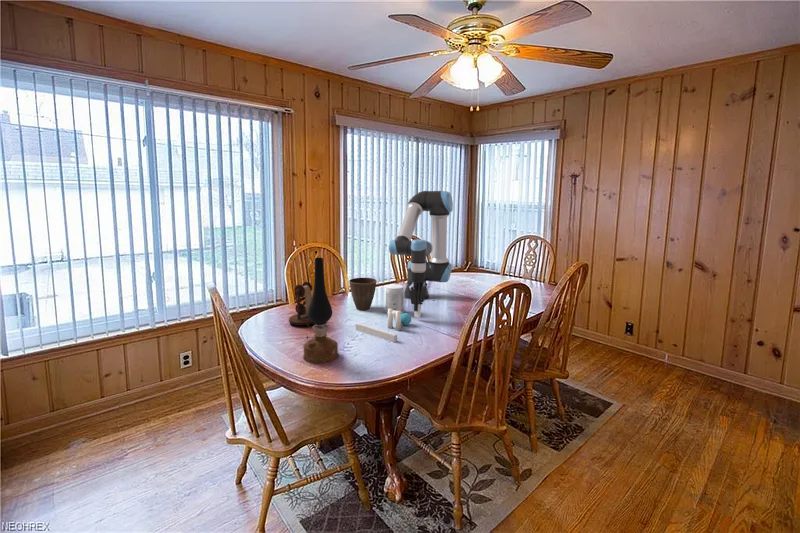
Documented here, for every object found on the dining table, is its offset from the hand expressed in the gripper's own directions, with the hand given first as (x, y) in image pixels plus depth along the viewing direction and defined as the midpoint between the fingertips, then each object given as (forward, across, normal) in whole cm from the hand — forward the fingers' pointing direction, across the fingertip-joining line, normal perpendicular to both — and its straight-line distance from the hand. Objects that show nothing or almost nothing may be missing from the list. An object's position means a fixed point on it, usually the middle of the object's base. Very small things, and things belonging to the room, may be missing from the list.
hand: (417, 316), depth 211 cm
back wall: (+2, +30, 0) cm, 30 cm away
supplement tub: (+2, -2, -17) cm, 17 cm away
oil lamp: (+2, +62, +1) cm, 62 cm away
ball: (-1, +10, 0) cm, 10 cm away
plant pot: (+2, +4, -35) cm, 35 cm away
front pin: (+1, +13, 0) cm, 13 cm away
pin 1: (+2, +18, -2) cm, 18 cm away
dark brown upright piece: (+2, +41, -38) cm, 56 cm away
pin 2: (+2, +18, +2) cm, 18 cm away
